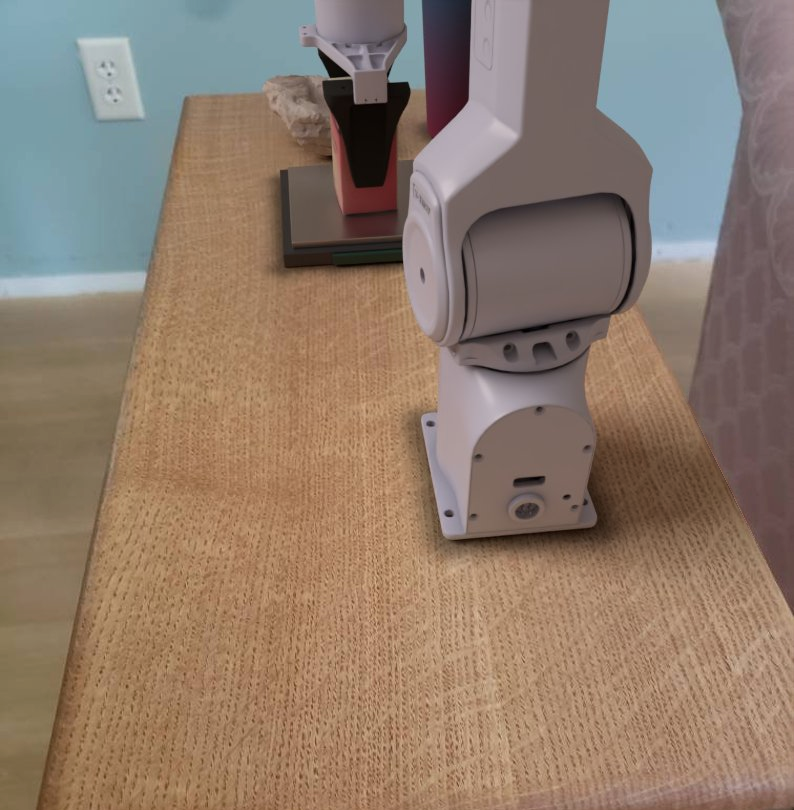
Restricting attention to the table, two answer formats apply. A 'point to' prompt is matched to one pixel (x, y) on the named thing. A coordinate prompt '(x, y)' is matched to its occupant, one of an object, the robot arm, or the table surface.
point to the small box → (346, 192)
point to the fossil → (302, 110)
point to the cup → (446, 60)
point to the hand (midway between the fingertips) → (365, 166)
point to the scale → (337, 221)
